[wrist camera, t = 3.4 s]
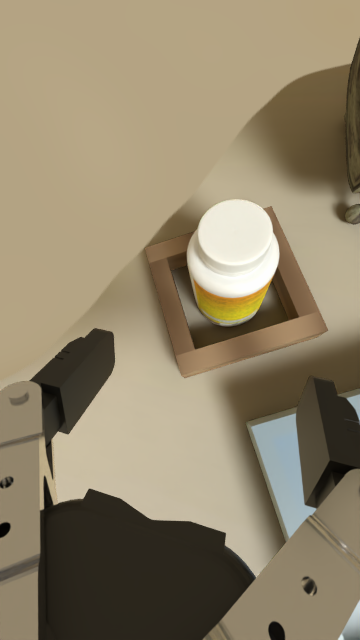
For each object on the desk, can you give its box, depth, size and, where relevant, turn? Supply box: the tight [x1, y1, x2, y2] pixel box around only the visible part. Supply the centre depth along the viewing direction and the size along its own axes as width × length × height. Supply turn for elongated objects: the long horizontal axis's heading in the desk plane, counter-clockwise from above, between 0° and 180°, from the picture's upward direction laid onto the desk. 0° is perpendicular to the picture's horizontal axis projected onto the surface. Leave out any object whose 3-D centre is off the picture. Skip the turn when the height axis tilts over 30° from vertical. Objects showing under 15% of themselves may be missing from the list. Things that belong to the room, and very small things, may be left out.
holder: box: [145, 206, 328, 378], centre depth 24 cm, size 11×11×2 cm
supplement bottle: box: [187, 199, 279, 327], centre depth 20 cm, size 6×6×10 cm
